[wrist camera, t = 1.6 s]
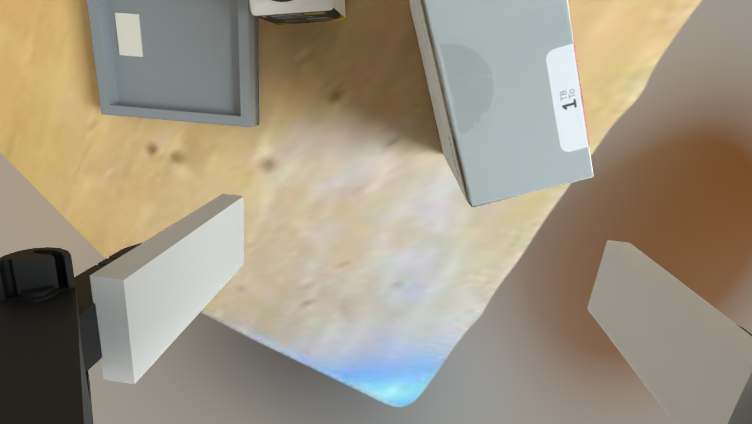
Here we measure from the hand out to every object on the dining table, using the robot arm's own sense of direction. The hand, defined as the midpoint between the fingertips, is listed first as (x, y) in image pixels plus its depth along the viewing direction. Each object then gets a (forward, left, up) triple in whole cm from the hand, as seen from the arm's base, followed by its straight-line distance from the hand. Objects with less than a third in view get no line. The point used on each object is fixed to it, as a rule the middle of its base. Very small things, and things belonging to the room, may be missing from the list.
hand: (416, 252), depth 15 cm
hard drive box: (-7, +4, -31) cm, 32 cm away
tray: (-8, -25, -30) cm, 40 cm away
